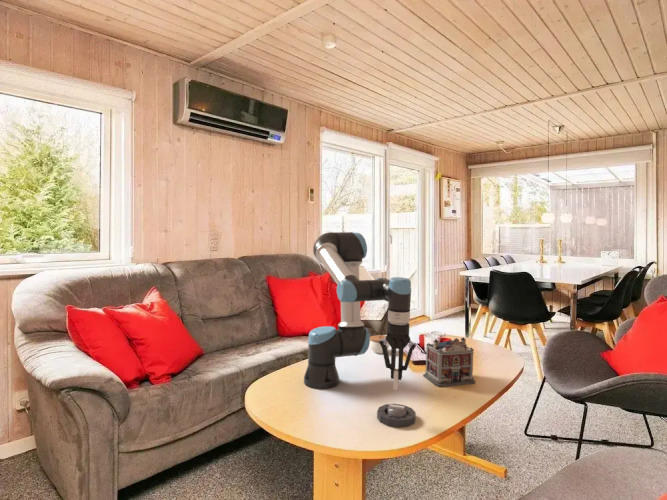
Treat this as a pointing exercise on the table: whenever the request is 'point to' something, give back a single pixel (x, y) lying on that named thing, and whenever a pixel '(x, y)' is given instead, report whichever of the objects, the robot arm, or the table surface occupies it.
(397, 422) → the faceted gray torus
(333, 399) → the table surface
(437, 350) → the model building
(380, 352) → the lidded jar
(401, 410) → the cap
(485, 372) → the table surface
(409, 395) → the table surface
